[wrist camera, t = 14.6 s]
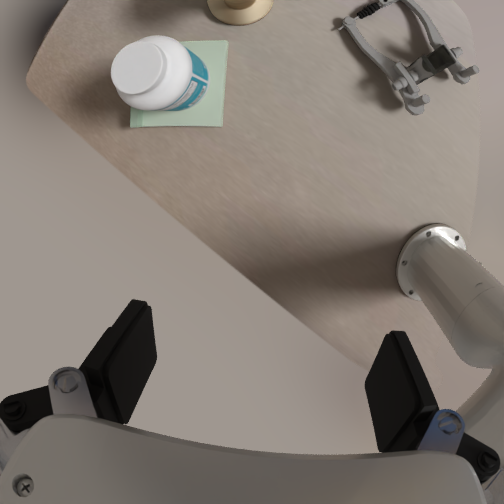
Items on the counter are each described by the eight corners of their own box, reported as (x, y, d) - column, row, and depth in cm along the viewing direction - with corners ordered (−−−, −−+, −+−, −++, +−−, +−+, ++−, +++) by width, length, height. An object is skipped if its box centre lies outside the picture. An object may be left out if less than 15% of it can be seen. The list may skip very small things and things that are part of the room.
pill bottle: (156, 54, 30) (103, 30, 18) (215, 54, 30) (185, 22, 18) (149, 111, 33) (92, 111, 21) (207, 113, 33) (173, 110, 21)
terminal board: (228, 42, 30) (225, 37, 28) (222, 126, 35) (218, 126, 32) (144, 47, 31) (135, 43, 28) (139, 126, 35) (130, 127, 33)
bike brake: (469, 82, 28) (380, -27, 25) (493, 73, 22) (390, -51, 19) (402, 123, 33) (307, 6, 29) (421, 118, 26) (307, -19, 23)
